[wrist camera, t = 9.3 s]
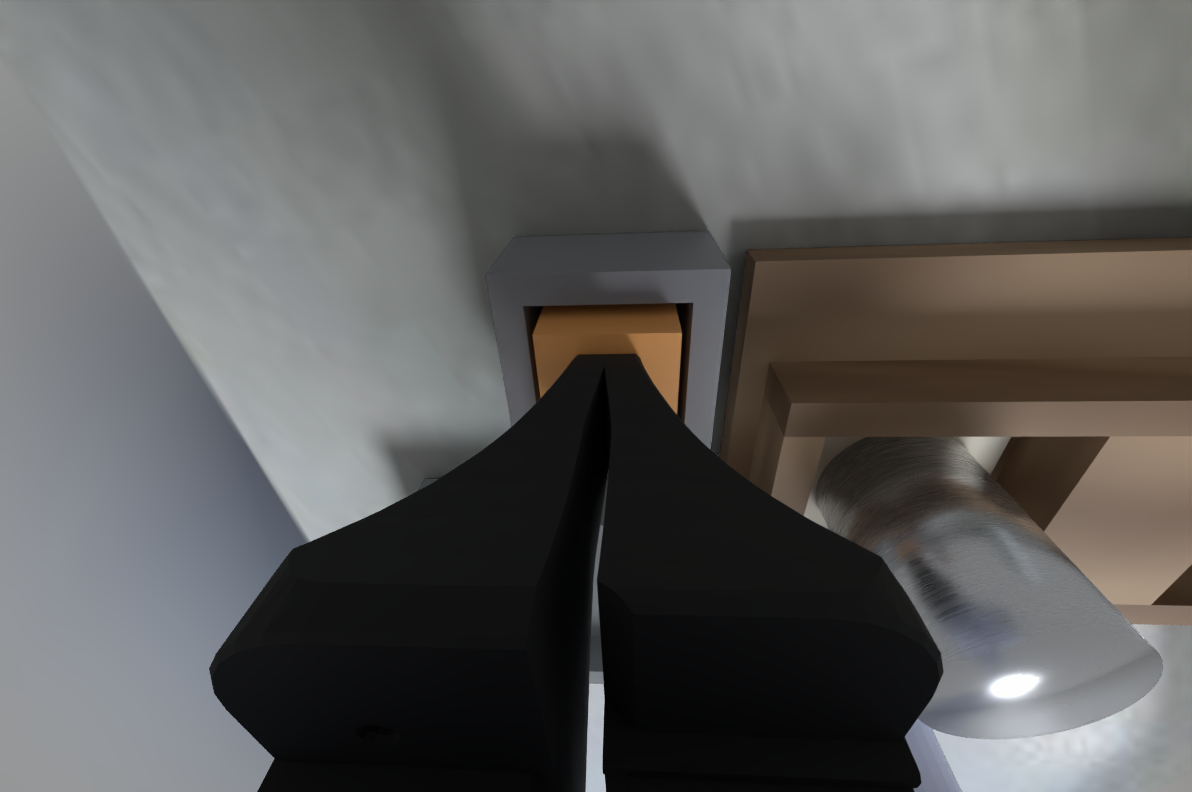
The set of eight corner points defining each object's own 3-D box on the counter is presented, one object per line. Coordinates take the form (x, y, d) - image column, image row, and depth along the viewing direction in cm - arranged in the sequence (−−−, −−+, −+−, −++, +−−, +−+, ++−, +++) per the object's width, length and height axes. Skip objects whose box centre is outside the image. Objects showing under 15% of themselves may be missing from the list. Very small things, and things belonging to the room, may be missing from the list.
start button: (665, 382, 13) (674, 450, 11) (561, 383, 14) (547, 449, 11) (669, 281, 12) (681, 332, 9) (551, 283, 12) (532, 334, 10)
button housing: (695, 396, 15) (709, 460, 12) (535, 397, 15) (517, 459, 12) (709, 231, 12) (731, 268, 9) (514, 237, 12) (485, 275, 10)
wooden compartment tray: (1249, 596, 18) (1348, 677, 16) (702, 585, 20) (714, 658, 17) (1687, 223, 11) (2015, 264, 8) (746, 249, 12) (778, 291, 10)
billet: (936, 534, 16) (1082, 744, 11) (801, 530, 16) (882, 733, 11) (996, 428, 13) (1222, 635, 8) (836, 425, 13) (961, 624, 8)
